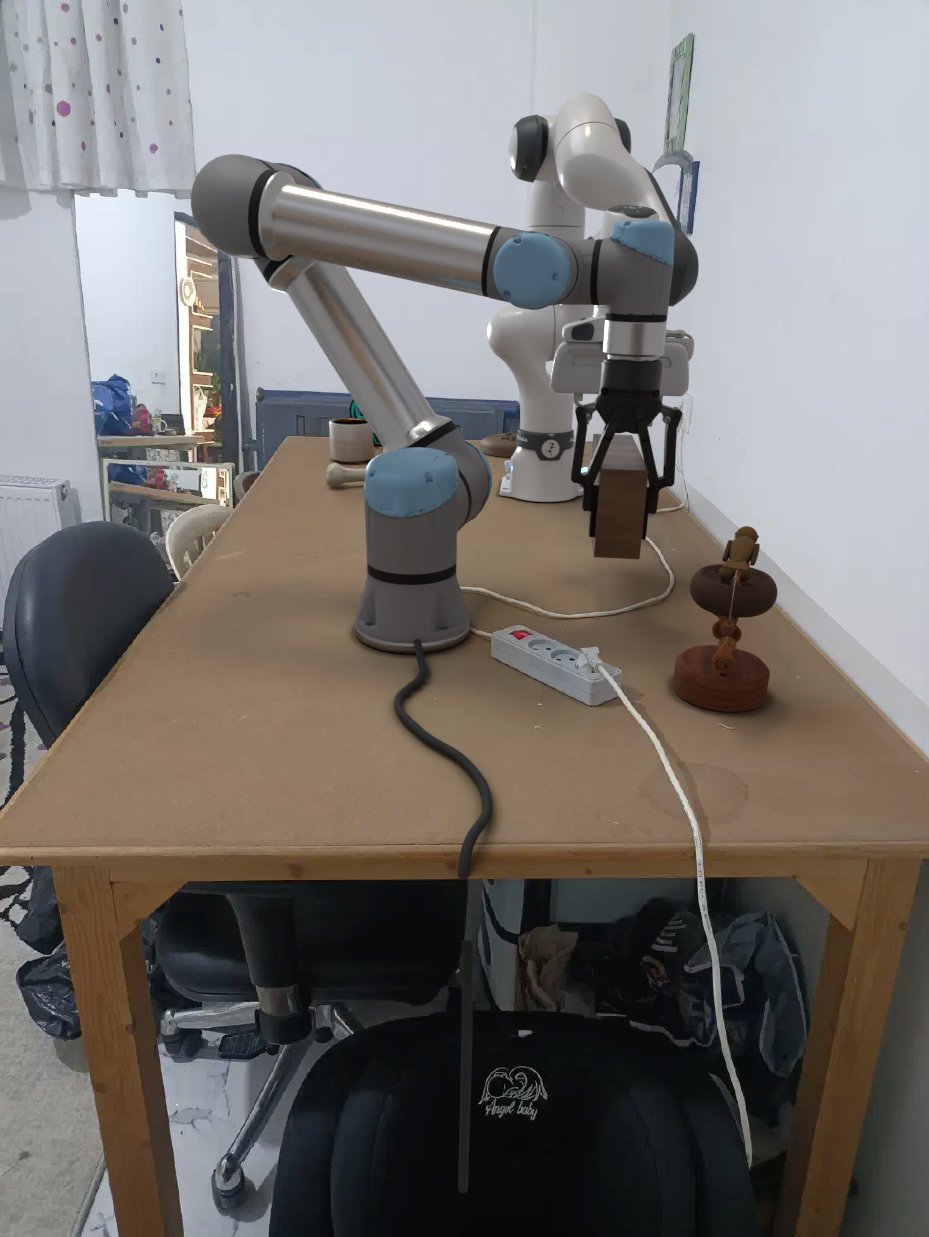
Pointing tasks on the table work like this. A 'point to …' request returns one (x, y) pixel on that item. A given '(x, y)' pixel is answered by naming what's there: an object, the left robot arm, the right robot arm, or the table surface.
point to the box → (620, 499)
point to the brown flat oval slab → (499, 444)
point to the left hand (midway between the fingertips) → (616, 535)
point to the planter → (351, 440)
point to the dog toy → (343, 475)
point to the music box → (728, 631)
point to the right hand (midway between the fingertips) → (615, 425)
